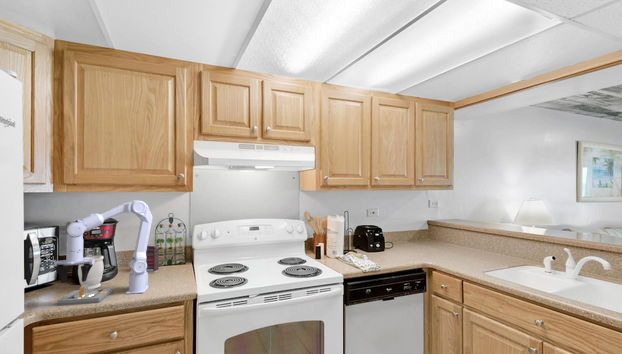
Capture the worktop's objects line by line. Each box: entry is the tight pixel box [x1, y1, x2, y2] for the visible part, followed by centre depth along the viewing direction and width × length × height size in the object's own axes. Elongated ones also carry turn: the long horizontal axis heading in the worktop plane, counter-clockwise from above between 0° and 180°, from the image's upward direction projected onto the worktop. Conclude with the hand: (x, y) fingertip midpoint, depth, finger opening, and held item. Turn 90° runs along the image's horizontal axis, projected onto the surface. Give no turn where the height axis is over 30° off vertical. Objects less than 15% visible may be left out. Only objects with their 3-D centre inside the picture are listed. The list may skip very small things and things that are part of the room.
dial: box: [74, 285, 99, 298], centre depth 136 cm, size 9×9×5 cm
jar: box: [77, 255, 105, 289], centre depth 151 cm, size 11×10×15 cm
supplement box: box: [146, 244, 160, 274], centre depth 178 cm, size 9×5×16 cm, turn 86°
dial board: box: [56, 287, 113, 307], centre depth 136 cm, size 13×16×2 cm
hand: (74, 281), depth 130 cm, fingers open, 7 cm apart
